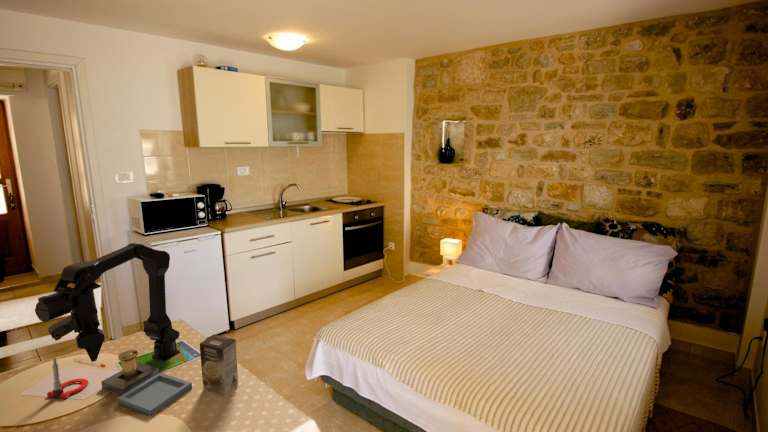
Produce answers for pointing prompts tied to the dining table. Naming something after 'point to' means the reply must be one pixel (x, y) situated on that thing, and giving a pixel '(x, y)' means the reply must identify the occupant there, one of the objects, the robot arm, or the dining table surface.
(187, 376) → the dining table surface
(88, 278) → the robot arm
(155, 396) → the tray
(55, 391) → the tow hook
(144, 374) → the block
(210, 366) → the coffee box
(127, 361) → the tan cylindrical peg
